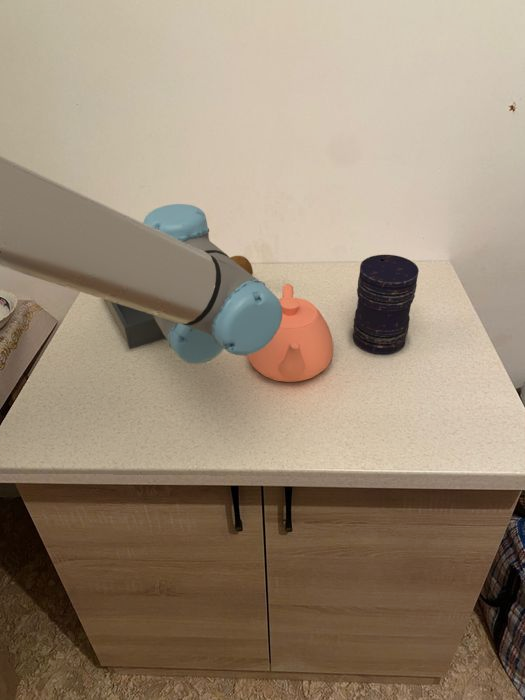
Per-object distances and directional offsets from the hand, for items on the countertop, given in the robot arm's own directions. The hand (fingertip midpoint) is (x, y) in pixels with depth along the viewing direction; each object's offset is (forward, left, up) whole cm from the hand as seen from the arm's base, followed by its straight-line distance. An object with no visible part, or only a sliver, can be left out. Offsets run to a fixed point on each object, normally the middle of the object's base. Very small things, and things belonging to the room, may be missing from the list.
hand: (124, 230), depth 91 cm
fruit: (+21, -2, -18) cm, 28 cm away
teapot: (+18, -29, -18) cm, 38 cm away
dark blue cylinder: (+36, -31, -18) cm, 51 cm away
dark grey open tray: (+1, -1, -18) cm, 18 cm away
